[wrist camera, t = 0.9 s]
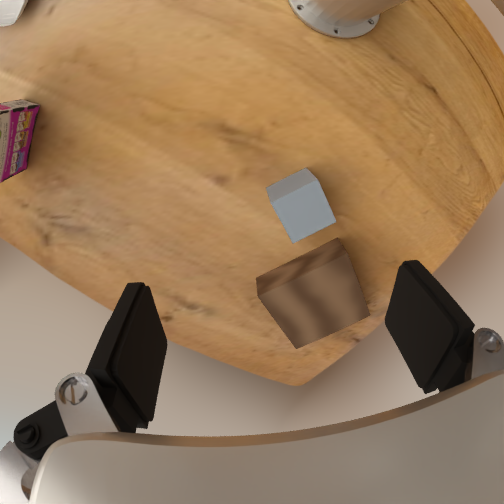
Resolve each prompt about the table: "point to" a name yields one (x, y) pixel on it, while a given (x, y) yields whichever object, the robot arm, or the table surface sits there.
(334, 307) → the walnut block
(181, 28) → the table surface
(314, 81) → the table surface
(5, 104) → the candy bar box
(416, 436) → the robot arm
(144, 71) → the table surface
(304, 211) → the slate cube
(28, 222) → the table surface
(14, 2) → the square plate
